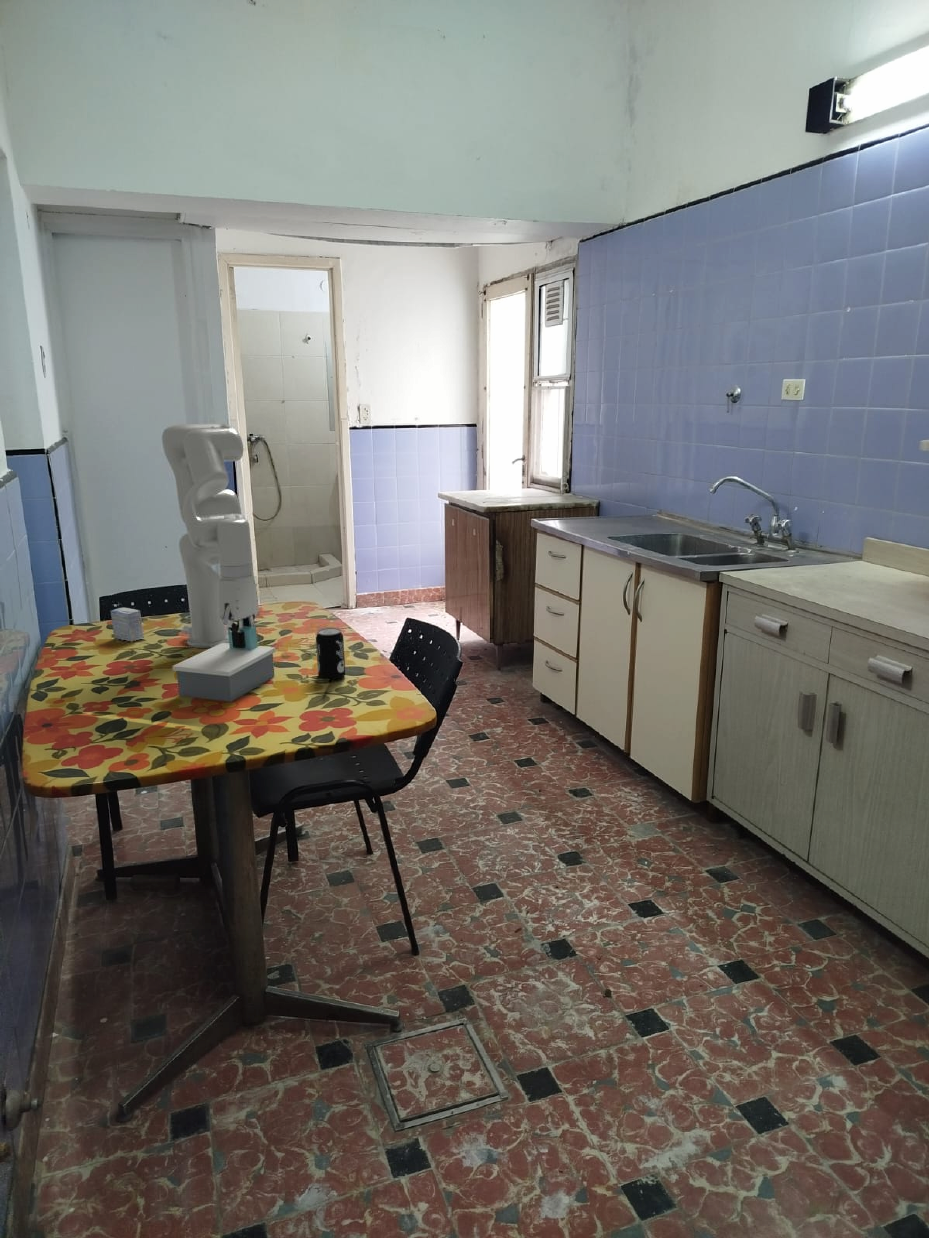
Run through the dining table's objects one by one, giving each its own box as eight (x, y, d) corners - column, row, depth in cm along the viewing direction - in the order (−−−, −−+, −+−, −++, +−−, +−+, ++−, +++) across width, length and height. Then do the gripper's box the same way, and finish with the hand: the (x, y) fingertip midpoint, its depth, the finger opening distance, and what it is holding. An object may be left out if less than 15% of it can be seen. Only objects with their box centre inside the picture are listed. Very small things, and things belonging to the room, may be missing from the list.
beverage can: (333, 684, 196) (330, 636, 193) (312, 679, 199) (309, 632, 196) (351, 676, 201) (348, 629, 198) (330, 672, 204) (327, 625, 201)
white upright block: (144, 639, 236) (140, 610, 234) (131, 643, 232) (127, 613, 230) (127, 635, 240) (123, 606, 238) (113, 639, 236) (109, 610, 234)
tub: (179, 698, 188) (176, 669, 186) (225, 674, 204) (223, 647, 202) (231, 705, 183) (228, 675, 181) (274, 679, 200) (272, 652, 198)
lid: (173, 674, 186) (170, 644, 184) (223, 650, 203) (220, 623, 201) (229, 680, 181) (226, 650, 179) (275, 655, 198) (273, 627, 197)
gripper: (243, 563, 202) (249, 635, 207) (202, 577, 187) (210, 653, 192) (269, 565, 200) (275, 637, 204) (230, 579, 185) (237, 656, 190)
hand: (243, 644), depth 198 cm, fingers closed on lid, 3 cm apart
